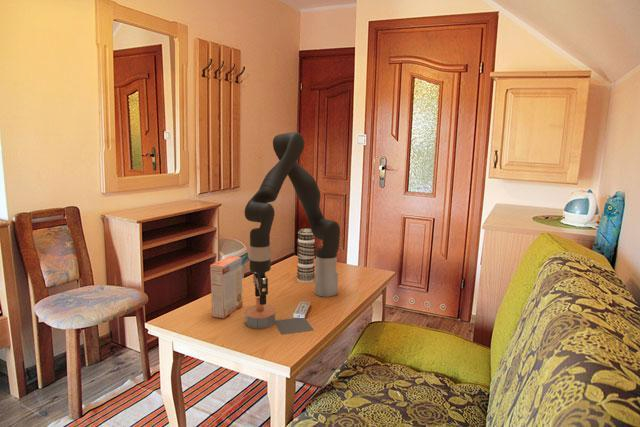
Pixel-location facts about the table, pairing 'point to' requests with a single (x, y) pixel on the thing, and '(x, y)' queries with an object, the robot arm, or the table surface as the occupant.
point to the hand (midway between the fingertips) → (260, 300)
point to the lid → (259, 310)
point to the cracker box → (226, 286)
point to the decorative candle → (305, 256)
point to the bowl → (260, 322)
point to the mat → (293, 325)
